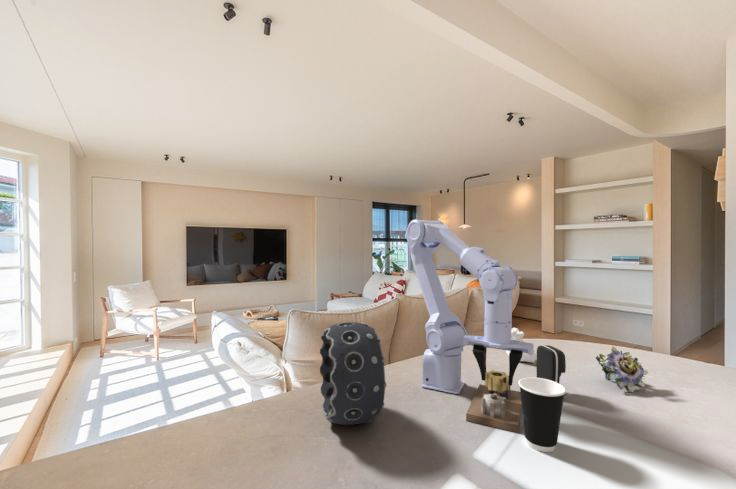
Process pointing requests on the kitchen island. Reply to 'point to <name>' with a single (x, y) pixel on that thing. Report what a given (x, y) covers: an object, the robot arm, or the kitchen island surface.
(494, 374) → the brass gear
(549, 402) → the dixie cup
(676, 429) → the kitchen island surface
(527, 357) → the bust
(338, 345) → the dark grey patterned wheel
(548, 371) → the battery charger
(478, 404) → the gear board
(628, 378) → the passion flower
